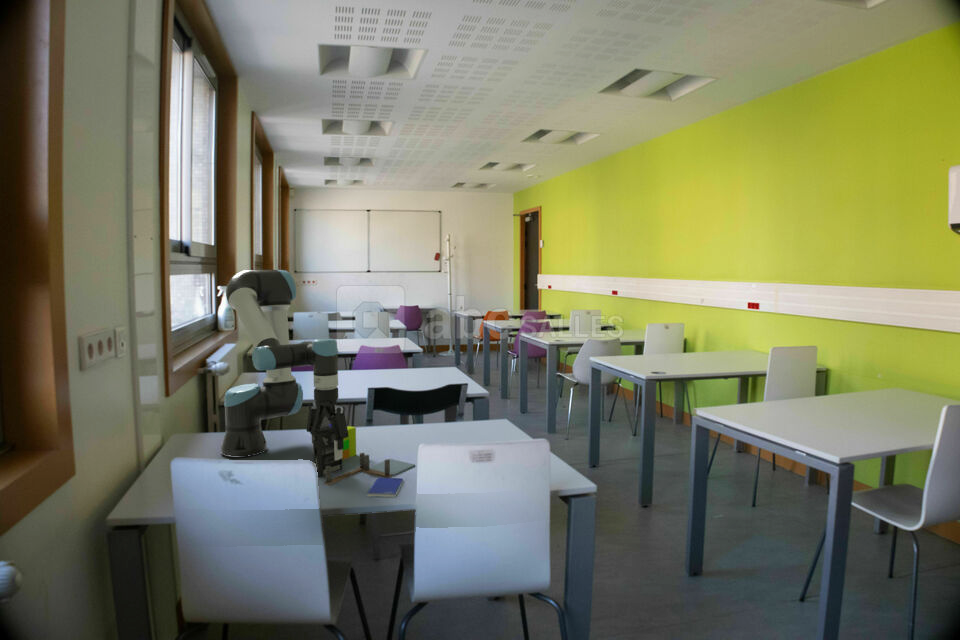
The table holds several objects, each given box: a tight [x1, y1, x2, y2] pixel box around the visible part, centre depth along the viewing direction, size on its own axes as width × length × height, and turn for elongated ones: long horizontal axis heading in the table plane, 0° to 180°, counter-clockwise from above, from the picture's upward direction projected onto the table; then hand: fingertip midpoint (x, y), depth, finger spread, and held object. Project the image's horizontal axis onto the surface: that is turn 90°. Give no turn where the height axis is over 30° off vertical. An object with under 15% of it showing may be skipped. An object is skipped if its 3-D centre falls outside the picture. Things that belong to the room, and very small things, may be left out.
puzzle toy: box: [319, 424, 357, 461], centre depth 200 cm, size 10×10×10 cm
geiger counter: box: [312, 428, 343, 478], centre depth 185 cm, size 10×4×15 cm, turn 142°
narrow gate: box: [362, 454, 392, 478], centre depth 183 cm, size 2×10×6 cm, turn 58°
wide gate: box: [324, 452, 366, 486], centre depth 181 cm, size 2×16×6 cm, turn 148°
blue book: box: [366, 477, 404, 498], centre depth 172 cm, size 2×8×12 cm
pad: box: [369, 458, 416, 477], centre depth 189 cm, size 11×11×1 cm
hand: (327, 456), depth 185 cm, fingers open, 9 cm apart
